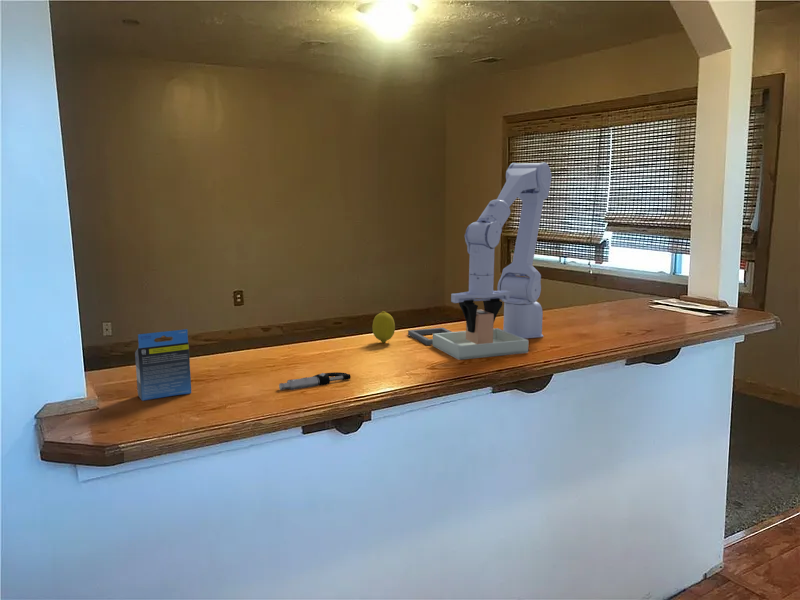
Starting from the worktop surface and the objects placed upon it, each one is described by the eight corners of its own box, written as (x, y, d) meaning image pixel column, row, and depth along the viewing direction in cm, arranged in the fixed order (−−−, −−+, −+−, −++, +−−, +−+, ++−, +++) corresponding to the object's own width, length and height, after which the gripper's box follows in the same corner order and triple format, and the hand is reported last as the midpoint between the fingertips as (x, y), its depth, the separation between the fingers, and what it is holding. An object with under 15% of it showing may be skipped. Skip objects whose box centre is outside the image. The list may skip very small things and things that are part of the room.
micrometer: (339, 373, 138) (339, 361, 138) (354, 382, 132) (354, 370, 132) (269, 383, 131) (269, 371, 130) (282, 393, 125) (282, 380, 124)
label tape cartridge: (187, 388, 126) (183, 324, 124) (191, 394, 123) (188, 328, 121) (137, 395, 122) (133, 329, 120) (141, 401, 118) (137, 334, 116)
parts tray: (497, 339, 167) (497, 328, 167) (528, 352, 155) (528, 340, 154) (432, 345, 161) (432, 333, 160) (458, 359, 148) (459, 346, 147)
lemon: (368, 343, 162) (368, 311, 161) (379, 339, 167) (379, 308, 166) (388, 346, 160) (388, 313, 158) (398, 341, 165) (399, 310, 163)
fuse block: (480, 337, 161) (481, 308, 160) (492, 343, 156) (493, 313, 154) (465, 339, 160) (466, 309, 158) (477, 344, 154) (478, 314, 153)
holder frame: (442, 332, 176) (443, 327, 176) (463, 341, 165) (463, 337, 165) (408, 334, 172) (408, 330, 172) (427, 345, 161) (427, 340, 161)
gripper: (499, 270, 161) (498, 325, 163) (445, 273, 156) (444, 329, 158) (515, 274, 154) (513, 331, 157) (459, 277, 149) (458, 336, 151)
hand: (479, 331), depth 157 cm, fingers closed on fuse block, 4 cm apart
